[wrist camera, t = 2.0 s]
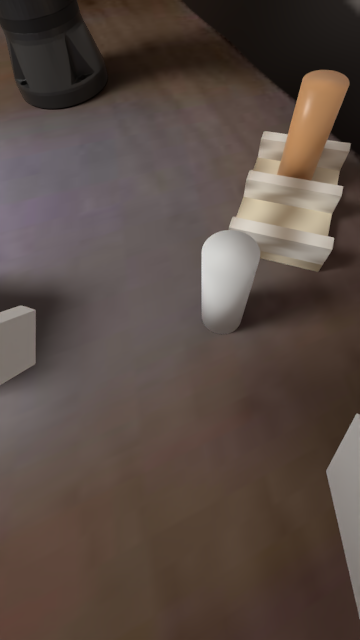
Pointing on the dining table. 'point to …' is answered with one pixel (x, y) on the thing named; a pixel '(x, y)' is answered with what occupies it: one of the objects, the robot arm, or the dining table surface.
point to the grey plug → (227, 278)
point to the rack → (291, 205)
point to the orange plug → (312, 122)
